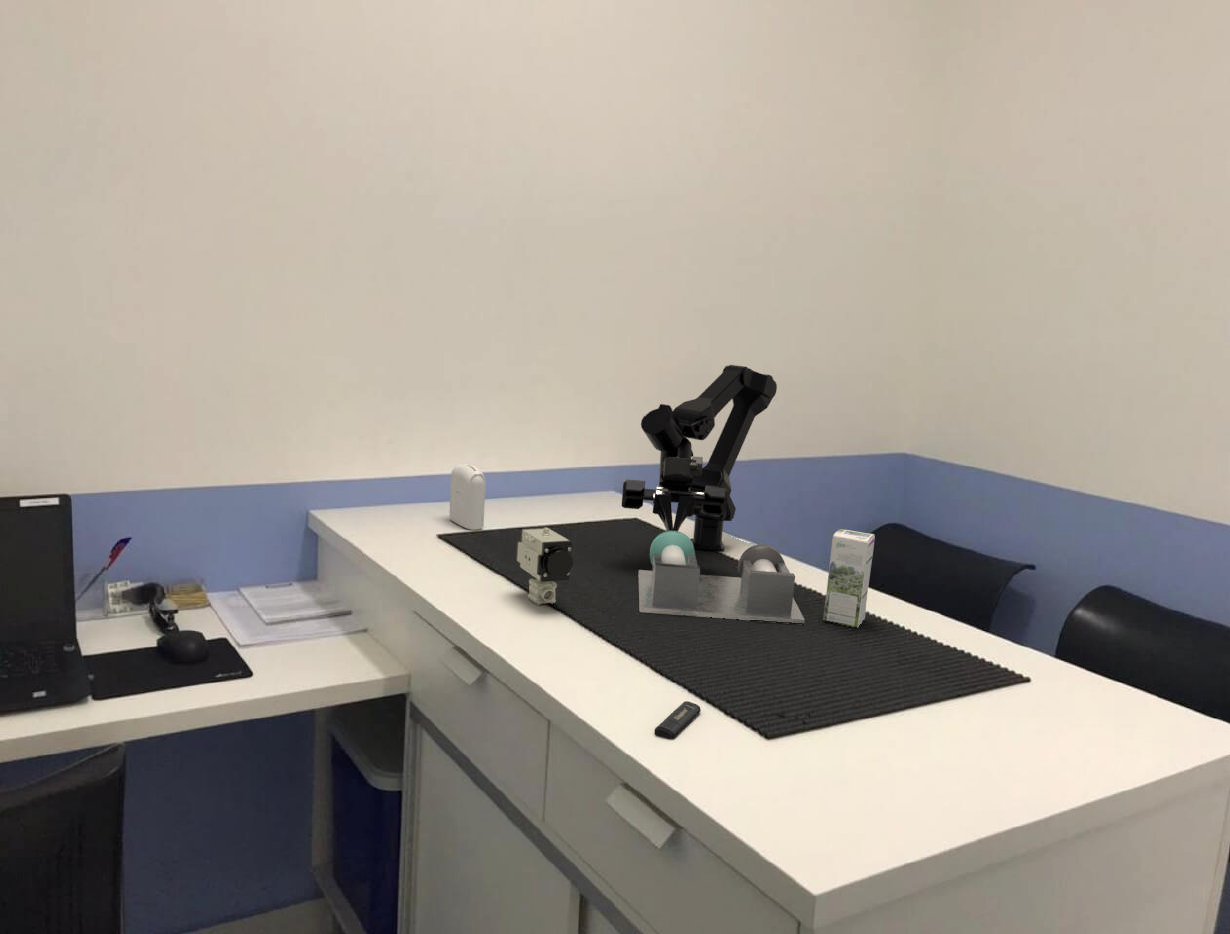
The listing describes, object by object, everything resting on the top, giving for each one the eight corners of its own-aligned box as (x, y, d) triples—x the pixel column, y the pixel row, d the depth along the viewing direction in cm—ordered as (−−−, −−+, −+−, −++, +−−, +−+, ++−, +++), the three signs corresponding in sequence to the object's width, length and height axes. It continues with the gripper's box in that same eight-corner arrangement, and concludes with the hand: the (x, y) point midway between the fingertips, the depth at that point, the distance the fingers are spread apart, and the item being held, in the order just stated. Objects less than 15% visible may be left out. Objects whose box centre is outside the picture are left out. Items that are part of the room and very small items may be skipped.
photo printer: (446, 519, 214) (449, 460, 211) (465, 518, 216) (468, 460, 214) (466, 531, 205) (469, 470, 203) (486, 530, 207) (489, 469, 205)
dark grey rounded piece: (736, 586, 177) (740, 542, 175) (781, 590, 177) (786, 546, 175) (743, 607, 166) (748, 560, 164) (791, 611, 166) (796, 564, 164)
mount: (638, 574, 184) (641, 533, 183) (784, 585, 184) (788, 545, 183) (639, 612, 163) (643, 566, 161) (804, 624, 163) (809, 579, 161)
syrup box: (865, 619, 168) (876, 533, 165) (857, 629, 162) (868, 540, 160) (830, 612, 170) (840, 527, 167) (822, 622, 165) (832, 534, 162)
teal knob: (648, 572, 182) (651, 528, 180) (692, 575, 182) (696, 532, 180) (649, 591, 170) (653, 545, 169) (696, 594, 170) (700, 548, 169)
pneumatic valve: (539, 589, 171) (544, 518, 168) (570, 611, 161) (576, 536, 158) (508, 592, 168) (512, 520, 166) (538, 614, 158) (543, 538, 156)
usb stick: (672, 743, 118) (673, 731, 118) (651, 738, 119) (652, 725, 119) (702, 715, 126) (703, 703, 126) (682, 710, 127) (683, 698, 127)
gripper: (627, 435, 184) (621, 508, 175) (731, 443, 184) (731, 517, 175) (624, 470, 193) (618, 542, 184) (723, 478, 193) (723, 550, 184)
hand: (672, 537), depth 181 cm, fingers closed
